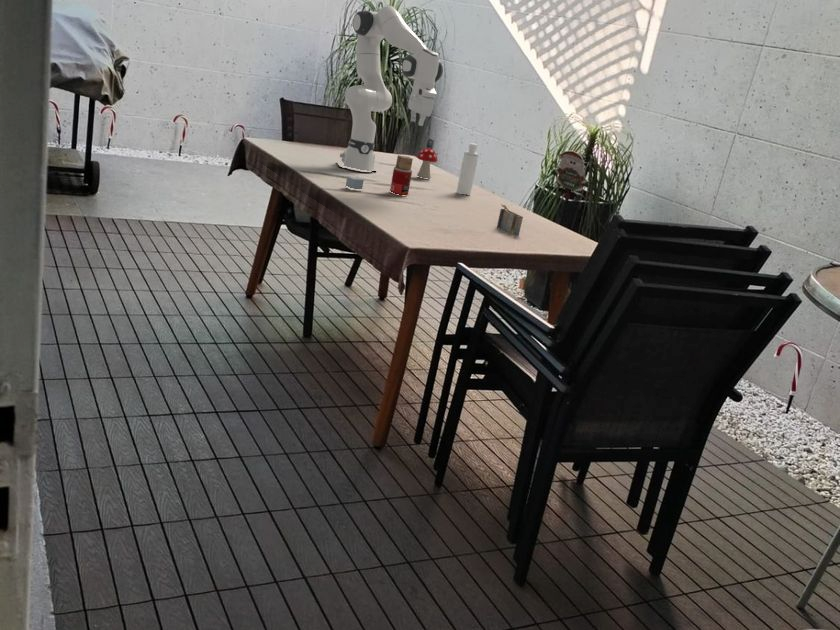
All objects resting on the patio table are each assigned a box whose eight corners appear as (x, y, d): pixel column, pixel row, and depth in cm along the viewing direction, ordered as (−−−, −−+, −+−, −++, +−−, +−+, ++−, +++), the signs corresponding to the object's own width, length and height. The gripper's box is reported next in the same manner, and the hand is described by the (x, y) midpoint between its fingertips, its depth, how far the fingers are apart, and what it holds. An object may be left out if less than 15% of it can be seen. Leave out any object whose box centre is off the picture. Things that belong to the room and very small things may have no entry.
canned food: (404, 197, 343) (408, 171, 339) (386, 192, 345) (391, 167, 341) (410, 195, 350) (414, 170, 346) (393, 190, 352) (397, 165, 348)
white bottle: (469, 196, 375) (480, 142, 367) (455, 193, 376) (466, 139, 368) (471, 194, 381) (482, 141, 373) (457, 191, 382) (468, 138, 374)
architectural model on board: (495, 227, 319) (501, 203, 316) (501, 228, 321) (507, 204, 318) (512, 235, 310) (517, 211, 307) (518, 236, 312) (524, 211, 309)
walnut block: (395, 166, 345) (397, 155, 344) (406, 168, 347) (408, 156, 346) (399, 169, 341) (401, 157, 339) (410, 170, 343) (412, 158, 341)
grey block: (345, 188, 338) (347, 176, 336) (355, 188, 341) (357, 177, 339) (351, 191, 334) (353, 179, 332) (361, 191, 337) (363, 179, 336)
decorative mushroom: (434, 179, 404) (439, 149, 399) (432, 181, 396) (438, 151, 391) (414, 175, 404) (419, 145, 399) (412, 177, 396) (418, 147, 391)
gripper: (408, 85, 346) (401, 118, 350) (424, 92, 328) (417, 126, 333) (421, 88, 348) (415, 120, 353) (438, 94, 331) (431, 128, 335)
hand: (416, 123), depth 343 cm, fingers open, 8 cm apart
